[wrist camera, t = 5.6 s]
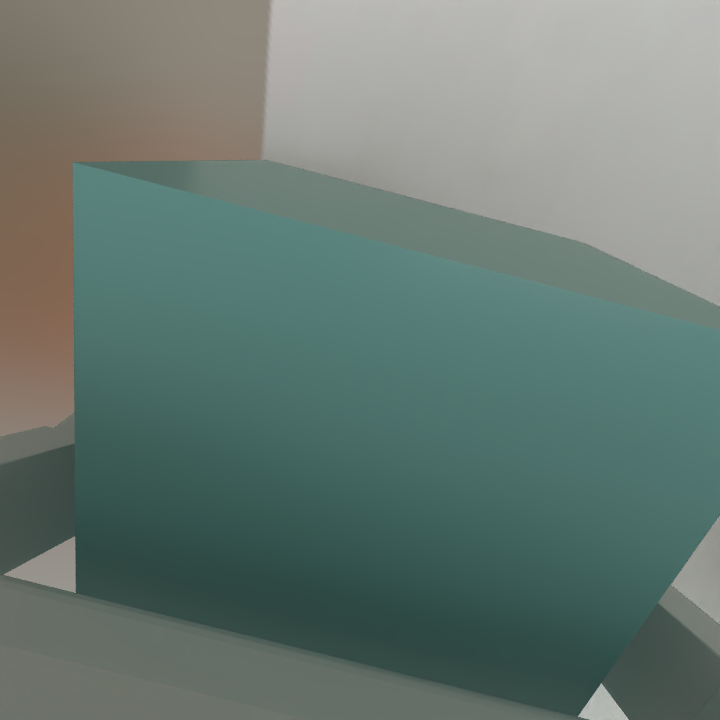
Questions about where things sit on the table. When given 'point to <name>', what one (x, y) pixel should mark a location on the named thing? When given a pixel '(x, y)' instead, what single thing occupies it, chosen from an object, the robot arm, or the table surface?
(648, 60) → the table surface
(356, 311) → the teal rectangular box
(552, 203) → the table surface
